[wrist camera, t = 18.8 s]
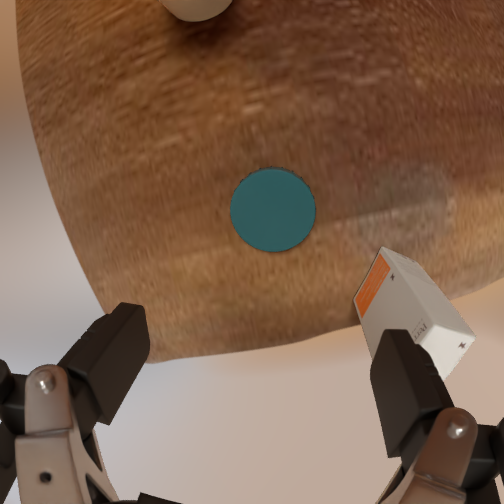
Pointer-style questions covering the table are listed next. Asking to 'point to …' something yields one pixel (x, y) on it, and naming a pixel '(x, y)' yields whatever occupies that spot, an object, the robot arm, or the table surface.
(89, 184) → the table surface
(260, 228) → the jam lid
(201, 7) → the white jar
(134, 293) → the table surface
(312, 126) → the table surface
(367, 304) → the cosmetic box
